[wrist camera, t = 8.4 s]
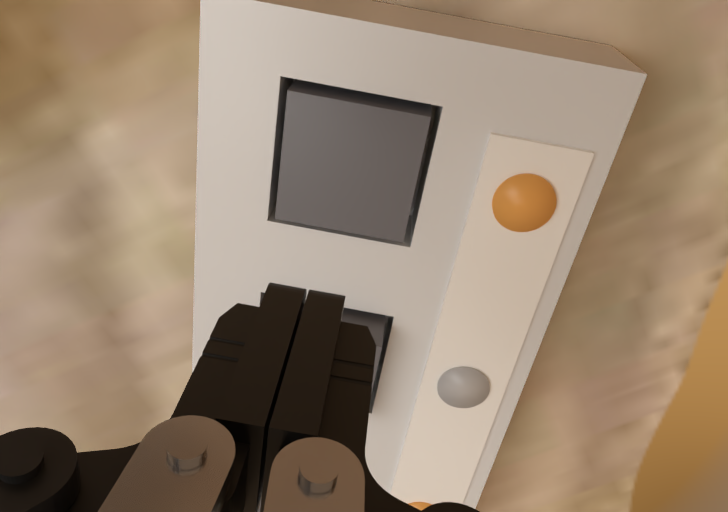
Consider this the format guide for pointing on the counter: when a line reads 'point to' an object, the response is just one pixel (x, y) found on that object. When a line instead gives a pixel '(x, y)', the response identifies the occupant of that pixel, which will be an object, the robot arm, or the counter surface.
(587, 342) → the counter surface
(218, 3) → the button panel
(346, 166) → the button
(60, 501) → the robot arm
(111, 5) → the counter surface
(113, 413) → the counter surface
